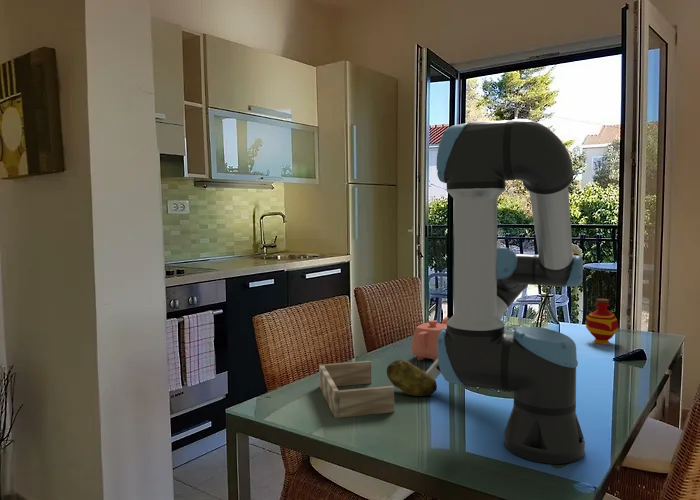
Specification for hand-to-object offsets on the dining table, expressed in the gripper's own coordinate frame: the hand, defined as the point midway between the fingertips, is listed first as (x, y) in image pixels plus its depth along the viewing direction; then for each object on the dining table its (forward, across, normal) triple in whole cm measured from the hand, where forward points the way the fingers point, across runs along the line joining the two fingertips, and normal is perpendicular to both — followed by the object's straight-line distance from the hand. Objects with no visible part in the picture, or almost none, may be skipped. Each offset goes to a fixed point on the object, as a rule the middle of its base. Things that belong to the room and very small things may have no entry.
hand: (428, 378), depth 142 cm
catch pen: (+16, -2, +12) cm, 20 cm away
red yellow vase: (-49, +31, -56) cm, 80 cm away
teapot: (-6, +28, -11) cm, 30 cm away
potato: (+6, -2, +2) cm, 6 cm away
